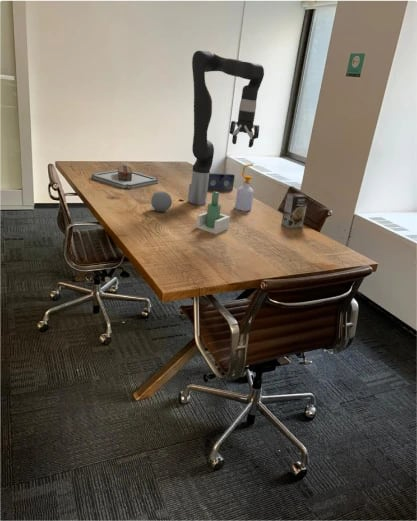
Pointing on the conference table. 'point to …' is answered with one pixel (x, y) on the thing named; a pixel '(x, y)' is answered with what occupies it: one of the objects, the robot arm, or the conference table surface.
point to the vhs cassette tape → (221, 182)
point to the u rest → (219, 225)
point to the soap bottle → (244, 194)
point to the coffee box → (294, 210)
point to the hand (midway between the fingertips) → (242, 145)
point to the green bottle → (213, 210)
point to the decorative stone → (161, 201)
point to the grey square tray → (124, 178)
